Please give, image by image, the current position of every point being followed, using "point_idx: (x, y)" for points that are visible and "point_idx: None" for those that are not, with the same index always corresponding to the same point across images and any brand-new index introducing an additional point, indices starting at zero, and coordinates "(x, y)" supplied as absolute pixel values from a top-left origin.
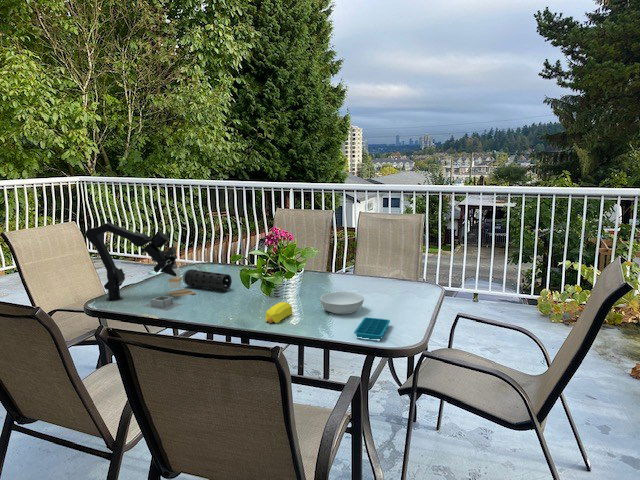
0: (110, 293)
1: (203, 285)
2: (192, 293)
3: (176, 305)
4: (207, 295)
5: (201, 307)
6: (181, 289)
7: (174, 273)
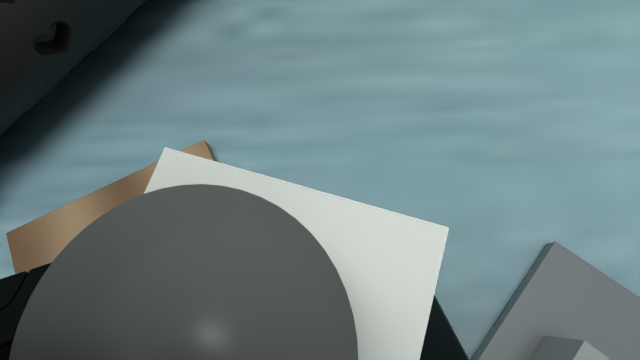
0: None
1: (73, 64)
2: None
3: (602, 300)
4: (255, 59)
5: (599, 88)
6: None
7: (447, 334)
